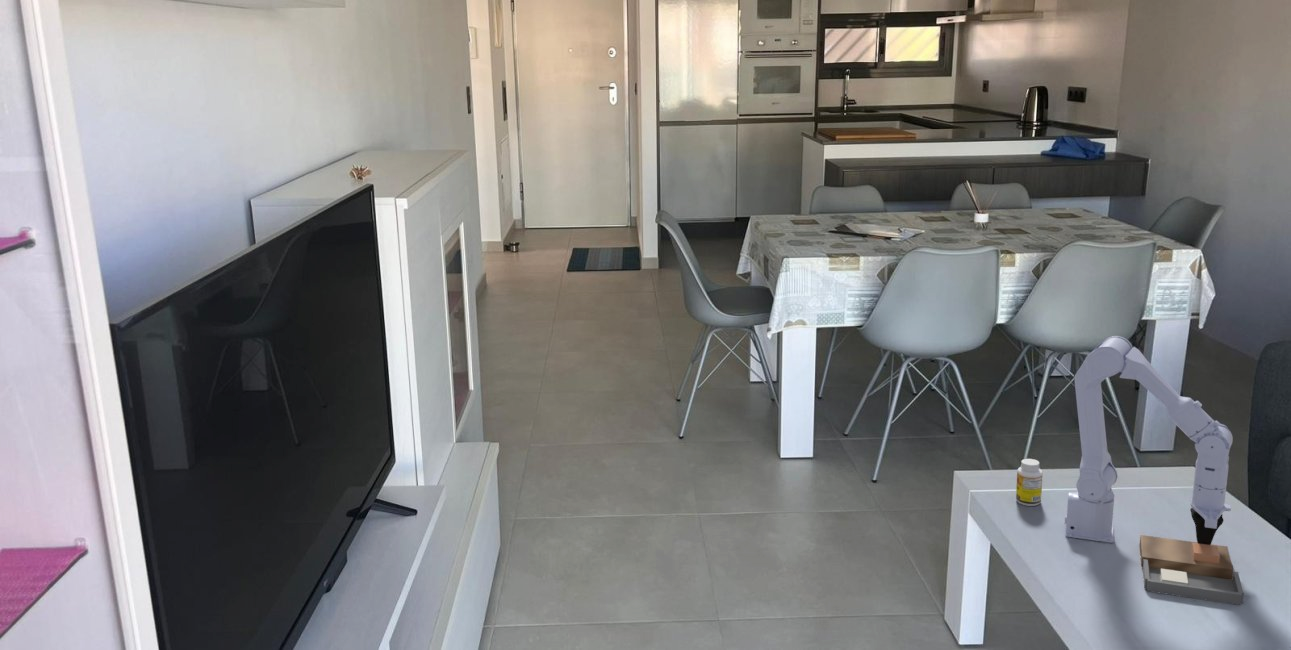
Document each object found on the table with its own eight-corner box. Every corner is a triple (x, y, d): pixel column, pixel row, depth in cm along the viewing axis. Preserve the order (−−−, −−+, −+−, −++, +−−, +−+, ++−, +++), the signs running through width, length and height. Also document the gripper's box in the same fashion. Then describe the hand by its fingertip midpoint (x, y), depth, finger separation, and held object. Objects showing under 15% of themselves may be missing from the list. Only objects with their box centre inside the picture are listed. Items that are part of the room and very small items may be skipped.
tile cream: (1160, 568, 193) (1159, 575, 194) (1161, 579, 189) (1161, 586, 190) (1186, 572, 191) (1185, 579, 192) (1188, 583, 187) (1187, 590, 188)
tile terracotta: (1193, 560, 195) (1194, 552, 194) (1191, 549, 199) (1192, 542, 198) (1219, 563, 193) (1220, 556, 192) (1216, 553, 197) (1217, 546, 196)
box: (1144, 590, 189) (1145, 580, 189) (1142, 568, 197) (1143, 558, 197) (1242, 605, 183) (1244, 595, 182) (1236, 582, 190) (1238, 572, 190)
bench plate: (1141, 567, 198) (1142, 556, 197) (1139, 545, 206) (1140, 534, 206) (1232, 580, 191) (1233, 569, 190) (1226, 557, 200) (1227, 546, 199)
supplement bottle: (1018, 495, 233) (1020, 455, 230) (1042, 499, 230) (1045, 459, 227) (1013, 504, 228) (1015, 464, 225) (1038, 508, 225) (1040, 468, 222)
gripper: (1237, 501, 188) (1230, 564, 191) (1228, 472, 200) (1221, 531, 204) (1196, 496, 191) (1189, 558, 194) (1189, 468, 203) (1183, 527, 207)
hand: (1203, 544), depth 199 cm, fingers closed
